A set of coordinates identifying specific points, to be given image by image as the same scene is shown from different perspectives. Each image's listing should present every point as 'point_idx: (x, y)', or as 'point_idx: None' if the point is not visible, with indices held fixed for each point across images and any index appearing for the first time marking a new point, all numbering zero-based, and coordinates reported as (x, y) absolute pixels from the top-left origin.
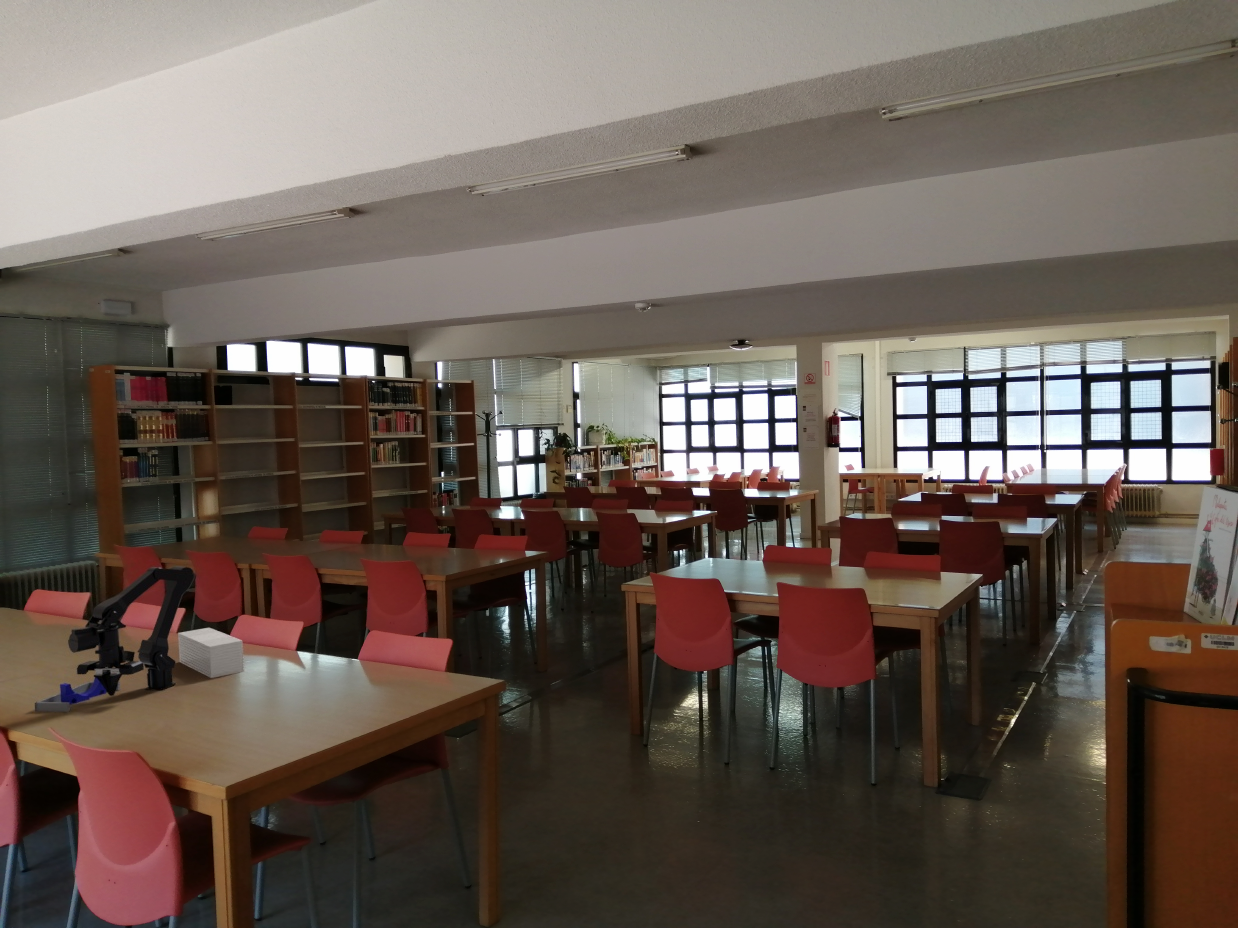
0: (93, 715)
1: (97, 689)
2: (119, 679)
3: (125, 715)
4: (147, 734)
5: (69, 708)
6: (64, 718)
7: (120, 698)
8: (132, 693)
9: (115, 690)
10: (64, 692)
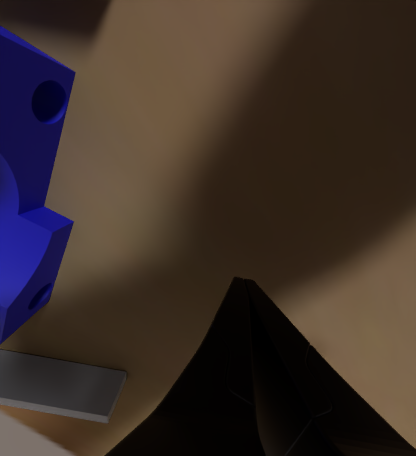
0: None
1: (15, 138)
2: (366, 402)
3: None
4: None
5: (121, 382)
6: None
7: (274, 237)
8: (319, 114)
9: (268, 298)
10: None
